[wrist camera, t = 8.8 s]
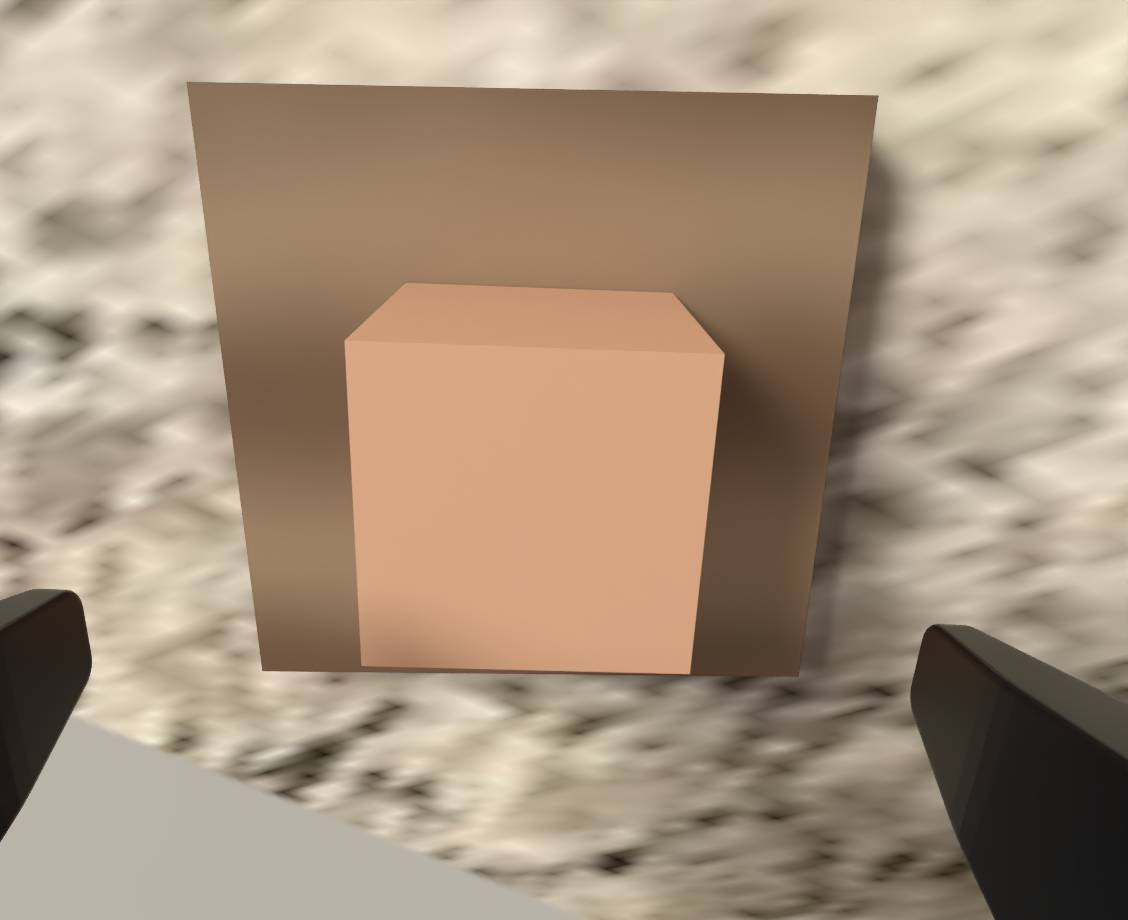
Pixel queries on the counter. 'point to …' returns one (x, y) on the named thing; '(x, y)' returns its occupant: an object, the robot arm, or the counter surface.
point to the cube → (530, 478)
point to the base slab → (538, 260)
